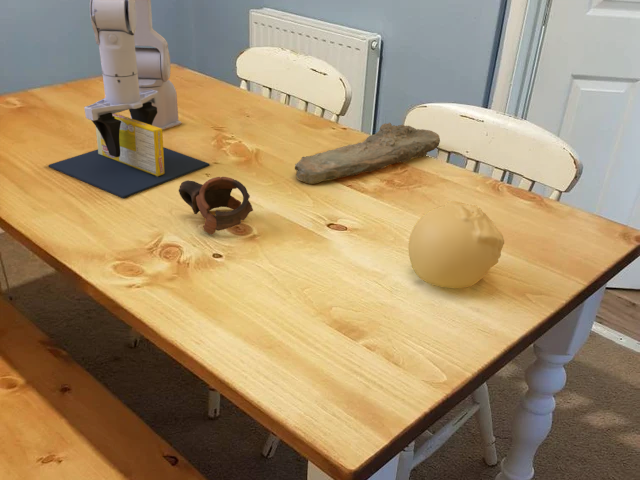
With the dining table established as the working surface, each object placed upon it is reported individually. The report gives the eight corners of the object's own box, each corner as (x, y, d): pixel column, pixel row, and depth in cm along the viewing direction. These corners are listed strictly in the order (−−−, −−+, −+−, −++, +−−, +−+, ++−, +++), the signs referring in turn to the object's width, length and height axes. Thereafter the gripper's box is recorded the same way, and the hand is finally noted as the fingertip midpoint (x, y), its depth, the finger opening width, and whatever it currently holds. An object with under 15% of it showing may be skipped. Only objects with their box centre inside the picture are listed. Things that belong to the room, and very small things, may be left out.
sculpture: (506, 293, 94) (522, 221, 88) (425, 303, 90) (436, 229, 84) (467, 253, 103) (480, 185, 97) (393, 261, 100) (401, 191, 93)
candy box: (166, 174, 121) (163, 127, 117) (157, 177, 120) (153, 130, 115) (106, 151, 129) (101, 106, 124) (97, 154, 127) (91, 109, 123)
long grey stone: (281, 179, 126) (315, 200, 120) (281, 152, 123) (316, 173, 117) (415, 135, 144) (450, 151, 138) (418, 110, 141) (454, 126, 135)
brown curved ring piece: (258, 213, 112) (262, 182, 104) (236, 259, 107) (240, 230, 100) (188, 186, 112) (188, 154, 104) (164, 231, 107) (162, 200, 100)
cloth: (136, 139, 136) (136, 137, 136) (209, 165, 126) (209, 163, 126) (48, 167, 122) (48, 164, 122) (123, 198, 113) (123, 196, 113)
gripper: (100, 85, 108) (110, 167, 116) (168, 69, 118) (174, 146, 126) (72, 76, 112) (84, 157, 119) (141, 61, 122) (148, 136, 129)
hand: (128, 150), depth 123 cm, fingers open, 6 cm apart
